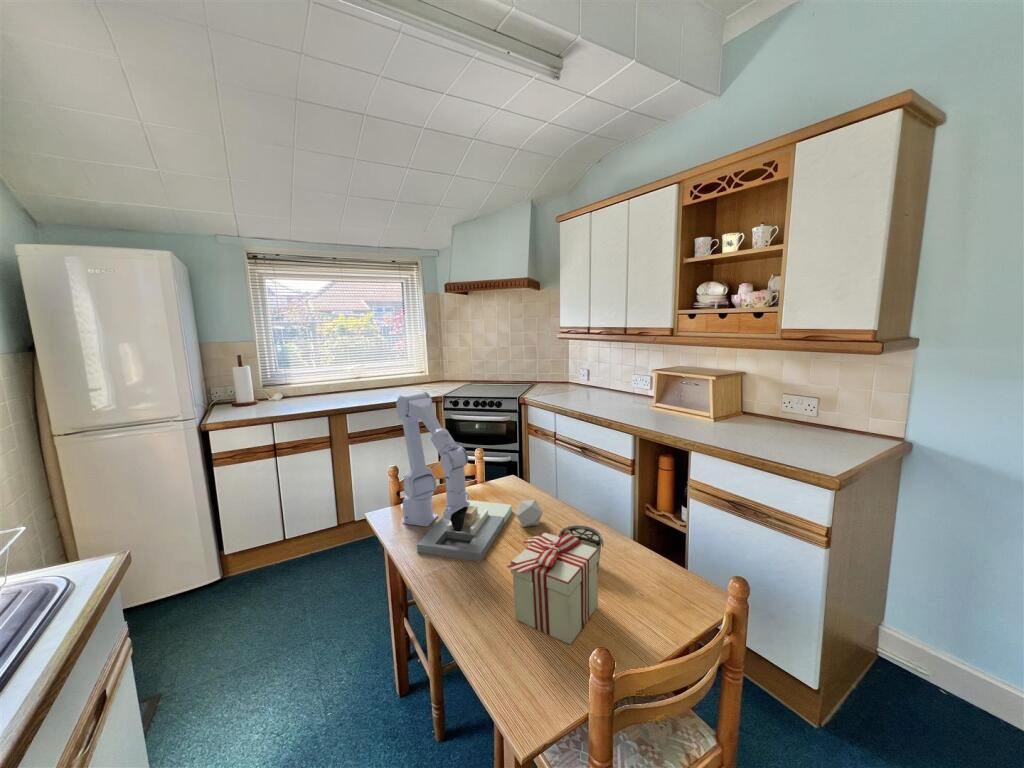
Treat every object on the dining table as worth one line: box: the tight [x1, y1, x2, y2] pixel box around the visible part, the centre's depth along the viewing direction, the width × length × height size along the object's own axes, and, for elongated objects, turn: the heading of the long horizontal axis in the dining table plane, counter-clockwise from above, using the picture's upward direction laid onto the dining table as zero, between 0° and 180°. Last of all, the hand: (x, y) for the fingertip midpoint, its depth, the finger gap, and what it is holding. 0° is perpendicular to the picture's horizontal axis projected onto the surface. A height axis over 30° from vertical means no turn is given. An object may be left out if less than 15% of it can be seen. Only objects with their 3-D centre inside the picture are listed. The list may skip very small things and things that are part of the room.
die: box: [515, 499, 543, 528], centre depth 138 cm, size 8×9×10 cm
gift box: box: [506, 532, 600, 645], centre depth 96 cm, size 17×18×17 cm
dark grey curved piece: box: [558, 524, 605, 575], centre depth 115 cm, size 12×6×10 cm, turn 65°
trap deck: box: [416, 499, 513, 563], centre depth 136 cm, size 20×31×4 cm, turn 163°
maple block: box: [463, 506, 478, 528], centre depth 135 cm, size 5×5×5 cm
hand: (458, 530), depth 128 cm, fingers closed
